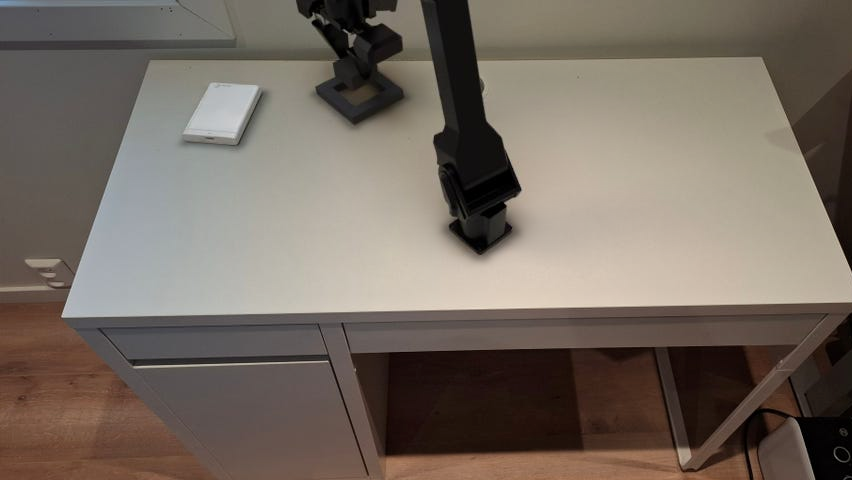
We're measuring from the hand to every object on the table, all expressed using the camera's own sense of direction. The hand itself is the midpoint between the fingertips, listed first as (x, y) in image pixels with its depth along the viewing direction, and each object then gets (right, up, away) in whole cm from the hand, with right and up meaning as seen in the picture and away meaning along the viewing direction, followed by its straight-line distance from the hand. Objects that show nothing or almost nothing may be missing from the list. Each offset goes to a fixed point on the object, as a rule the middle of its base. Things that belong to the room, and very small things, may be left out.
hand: (356, 71), depth 95 cm
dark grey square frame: (0, -3, +4) cm, 5 cm away
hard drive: (-21, -7, 0) cm, 22 cm away
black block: (0, -1, +1) cm, 1 cm away
